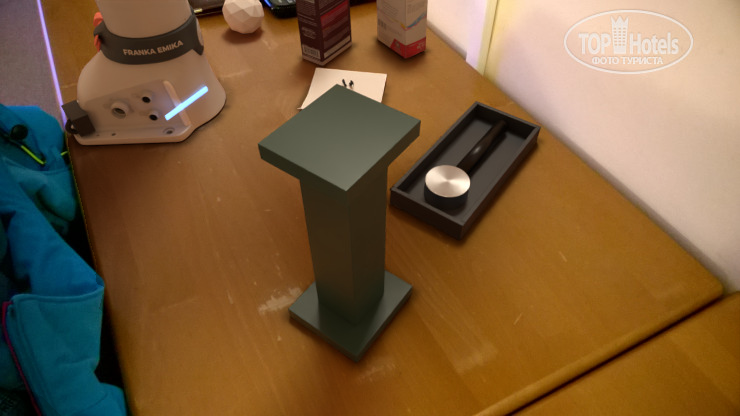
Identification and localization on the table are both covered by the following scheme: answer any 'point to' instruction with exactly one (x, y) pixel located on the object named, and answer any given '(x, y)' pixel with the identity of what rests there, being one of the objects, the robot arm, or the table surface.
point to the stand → (345, 212)
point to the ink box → (402, 25)
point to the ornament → (243, 15)
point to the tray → (482, 178)
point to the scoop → (459, 173)
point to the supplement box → (323, 28)
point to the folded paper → (346, 83)
